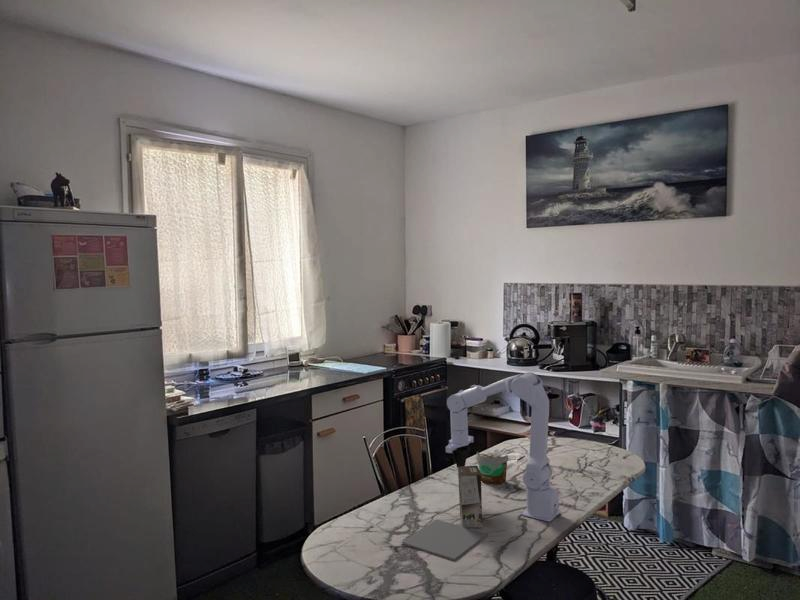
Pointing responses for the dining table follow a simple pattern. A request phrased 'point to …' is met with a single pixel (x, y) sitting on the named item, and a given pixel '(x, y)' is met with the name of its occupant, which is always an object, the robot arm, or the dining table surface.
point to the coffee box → (470, 496)
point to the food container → (492, 468)
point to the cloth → (513, 456)
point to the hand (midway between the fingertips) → (460, 468)
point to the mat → (445, 539)
